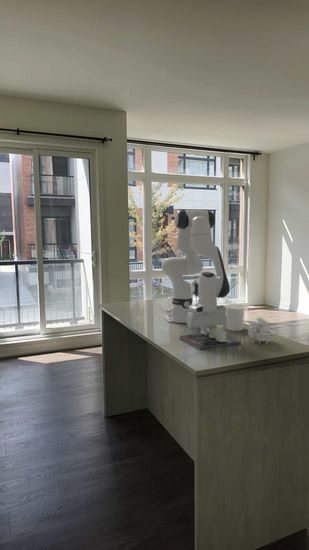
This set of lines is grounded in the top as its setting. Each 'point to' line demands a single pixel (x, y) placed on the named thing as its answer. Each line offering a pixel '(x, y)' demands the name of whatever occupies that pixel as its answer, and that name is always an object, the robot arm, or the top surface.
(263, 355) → the top surface
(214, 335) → the breaker mid
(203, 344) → the panel
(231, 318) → the candle holder
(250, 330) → the mechanical part
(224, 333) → the breaker right
